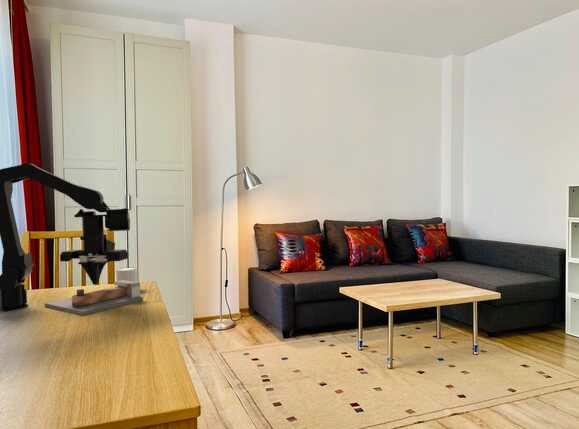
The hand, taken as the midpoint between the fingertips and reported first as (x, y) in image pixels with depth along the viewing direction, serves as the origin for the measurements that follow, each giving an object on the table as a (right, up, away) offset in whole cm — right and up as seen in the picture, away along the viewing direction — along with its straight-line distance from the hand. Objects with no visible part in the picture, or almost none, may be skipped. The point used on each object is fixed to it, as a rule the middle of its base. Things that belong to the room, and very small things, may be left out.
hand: (95, 284), depth 132 cm
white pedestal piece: (+4, -5, +16) cm, 17 cm away
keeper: (+9, -5, +2) cm, 10 cm away
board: (+1, -5, -2) cm, 6 cm away
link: (+4, -4, -4) cm, 6 cm away
